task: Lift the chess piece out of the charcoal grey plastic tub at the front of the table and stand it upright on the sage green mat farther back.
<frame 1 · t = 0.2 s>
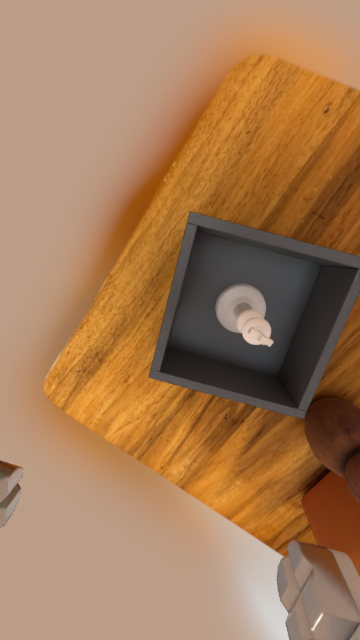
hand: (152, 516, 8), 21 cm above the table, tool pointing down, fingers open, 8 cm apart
tub: (238, 306, 27), on the table
wooden figurine: (326, 412, 30), on the table
chess piece: (239, 307, 27), point 1 cm above the table, touching tub
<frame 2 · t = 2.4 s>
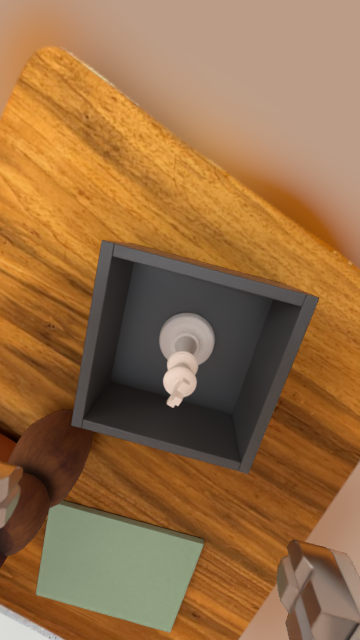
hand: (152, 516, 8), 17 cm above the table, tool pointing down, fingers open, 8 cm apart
tub: (187, 336, 24), on the table
wooden figurine: (74, 426, 28), on the table
mat: (115, 565, 32), on the table
chess piece: (187, 338, 24), point 1 cm above the table, touching tub
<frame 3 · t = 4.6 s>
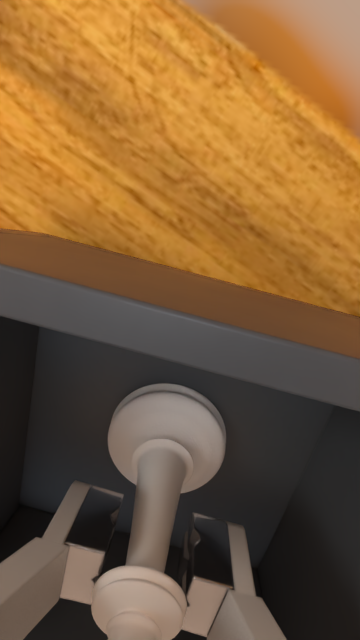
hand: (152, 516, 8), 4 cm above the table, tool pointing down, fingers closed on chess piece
tub: (169, 422, 12), on the table
chess piece: (168, 431, 11), point 1 cm above the table, touching gripper, tub
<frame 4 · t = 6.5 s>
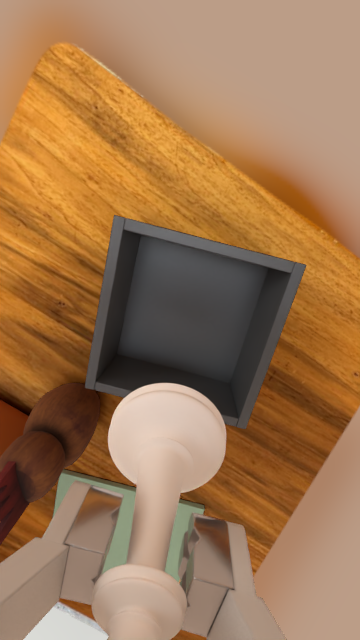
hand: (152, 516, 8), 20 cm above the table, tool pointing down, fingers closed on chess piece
tub: (188, 311, 26), on the table
wooden figurine: (82, 399, 30), on the table
mat: (121, 534, 34), on the table
chess piece: (168, 431, 11), point 16 cm above the table, touching gripper
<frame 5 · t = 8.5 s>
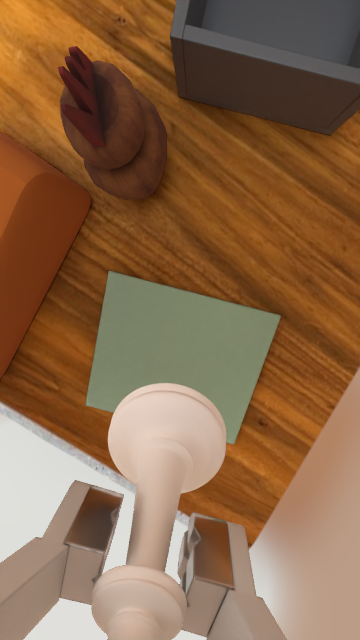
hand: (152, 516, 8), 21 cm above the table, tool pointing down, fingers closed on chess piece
tub: (280, 19, 21), on the table
wooden figurine: (139, 168, 25), on the table
mat: (176, 361, 29), on the table
chess piece: (168, 431, 11), point 17 cm above the table, touching gripper
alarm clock: (12, 276, 28), on the table
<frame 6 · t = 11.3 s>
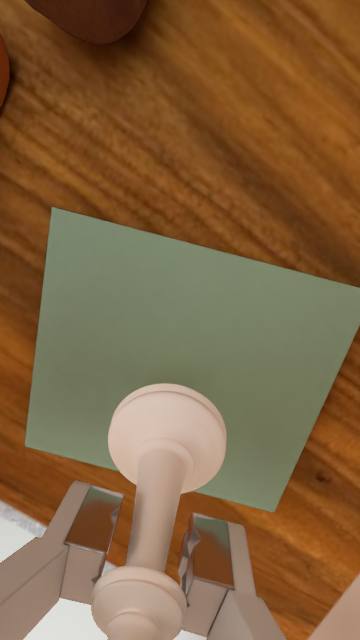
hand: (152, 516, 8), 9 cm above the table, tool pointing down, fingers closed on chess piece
mat: (177, 374, 17), on the table
chess piece: (168, 432, 11), point 6 cm above the table, touching gripper
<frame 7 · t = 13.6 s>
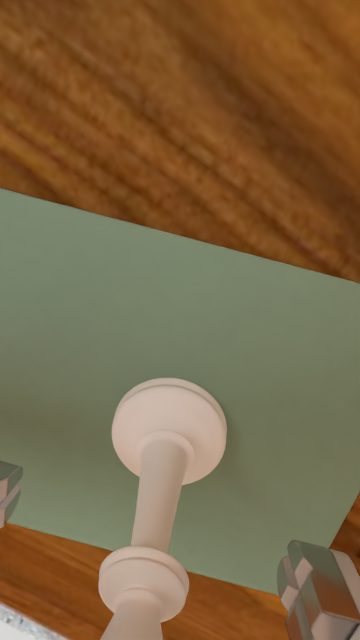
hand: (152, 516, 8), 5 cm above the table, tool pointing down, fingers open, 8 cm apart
mat: (169, 420, 12), on the table
chess piece: (170, 425, 12), resting on mat
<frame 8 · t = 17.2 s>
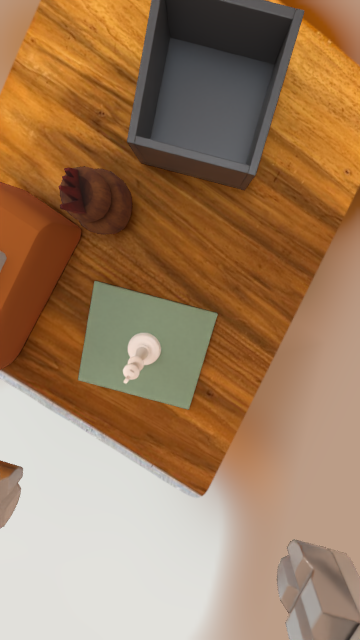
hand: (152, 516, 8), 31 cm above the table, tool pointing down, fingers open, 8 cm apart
tub: (207, 115, 32), on the table
wooden figurine: (115, 209, 35), on the table
mat: (144, 347, 40), on the table
chess piece: (144, 347, 40), resting on mat
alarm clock: (25, 284, 39), on the table
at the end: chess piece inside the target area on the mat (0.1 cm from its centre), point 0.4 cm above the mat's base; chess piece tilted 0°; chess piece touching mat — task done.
